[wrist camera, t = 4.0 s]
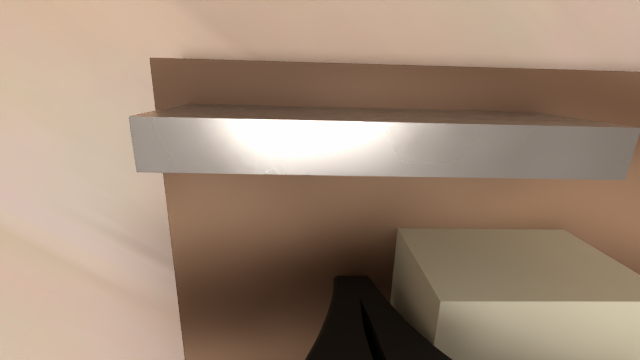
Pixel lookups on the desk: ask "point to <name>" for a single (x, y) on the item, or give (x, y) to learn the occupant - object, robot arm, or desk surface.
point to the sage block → (515, 295)
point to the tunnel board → (363, 194)
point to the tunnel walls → (379, 142)
